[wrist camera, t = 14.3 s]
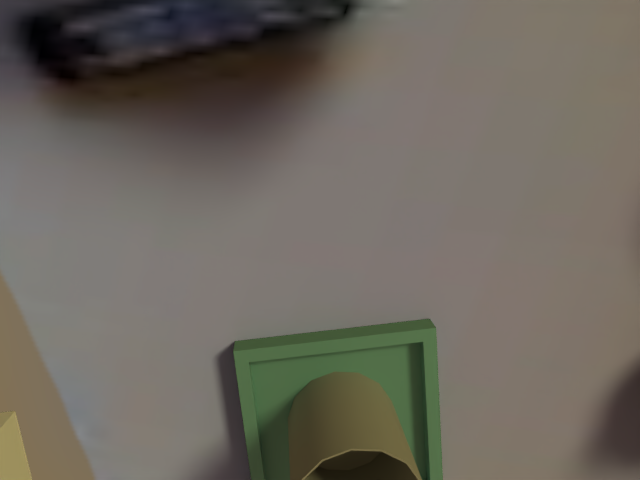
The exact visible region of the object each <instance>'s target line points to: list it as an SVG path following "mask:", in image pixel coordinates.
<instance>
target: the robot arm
mask: <svg viewBox="0 0 640 480" xmlns="http://www.w3.org/2000/svg"><path fill="white" fill-rule="evenodd" d="M0 480H32V478H31V473H30V469H29V465H28V461H27V457H26V453H25V449H24V445H23V441H22V437H21V433H20V429H19V425H18V421H17V417H16V413H15V411H10V412H1V413H0Z"/></svg>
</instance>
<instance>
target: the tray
mask: <svg viewBox="0 0 640 480" xmlns="http://www.w3.org/2000/svg"><path fill="white" fill-rule="evenodd" d="M233 353H234V360H235V367H236V375H237V382H238V389H239V396H240V403H241V410H242V418H243V425H244V432H245V439H246V446H247V453H248V460H249V468H250V475H251V480H290V463H289V437H288V416H289V413H290V410H291V407H292V404H293V401H294V398H295V396H296V395H297V394H298V393H299V392H300V391H301V390H302V389H303V388H304V387H305V386H306V385H307V384H308V383H309V382H310V381H311V380H314V379H316V378H319V377H321V376H324V375H327V374H329V373H332V372H355V373H360V374H362V375H364V376H366V377H368V378H370V379H372V380H374V381H376V382H378V383H379V384H380V385H381V387H382V388H383V389H384V391H385V392H386V394H387V395H388V396H389V398H390V399H391V401H392V403H393V406H394V408H395V411H396V413H397V416H398V419H399V421H400V424H401V426H402V429H403V432H404V434H405V437H406V440H407V442H408V445H409V447H410V450H411V453H412V455H413V458H414V460H415V463H416V466H417V468H418V471H419V473H420V476H421V479H422V480H443V474H442V451H441V429H440V407H439V384H438V362H437V339H436V327H435V326H434V324H433V323H432V321H431V320H430V319H423V320H415V321H406V322H397V323H389V324H380V325H371V326H363V327H354V328H346V329H337V330H328V331H320V332H311V333H302V334H294V335H285V336H276V337H268V338H259V339H250V340H242V341H235V344H234V350H233Z"/></svg>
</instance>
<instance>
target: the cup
mask: <svg viewBox="0 0 640 480" xmlns="http://www.w3.org/2000/svg"><path fill="white" fill-rule="evenodd" d="M288 437H289V463H290V480H422V479H421V476H420V473H419V471H418V468H417V466H416V463H415V460H414V458H413V455H412V453H411V450H410V447H409V445H408V442H407V440H406V437H405V434H404V432H403V429H402V426H401V424H400V421H399V419H398V416H397V413H396V411H395V408H394V406H393V403H392V401H391V399H390V398H389V396H388V395H387V394H386V392H385V391H384V389H383V388H382V387H381V385H380V384H379V383H378V382H376V381H374V380H372V379H370V378H368V377H366V376H364V375H362V374H360V373H355V372H332V373H329V374H327V375H324V376H321V377H319V378H316V379H314V380H311V381H310V382H309V383H308V384H307V385H306V386H305V387H304V388H303V389H302V390H301V391H300V392H299V393H298V394H297V395H296V396H295V398H294V401H293V404H292V407H291V410H290V413H289V416H288Z"/></svg>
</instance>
